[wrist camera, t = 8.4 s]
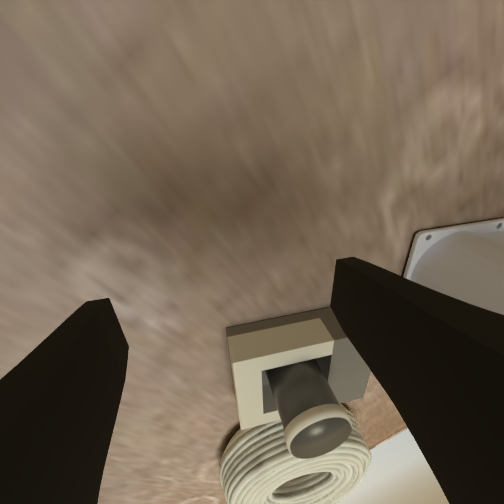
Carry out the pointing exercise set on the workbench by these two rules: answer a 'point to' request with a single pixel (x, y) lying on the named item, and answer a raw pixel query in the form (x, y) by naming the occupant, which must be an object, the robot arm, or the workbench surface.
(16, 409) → the robot arm
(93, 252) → the workbench surface
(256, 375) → the hollow square frame
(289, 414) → the knob
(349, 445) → the cable
